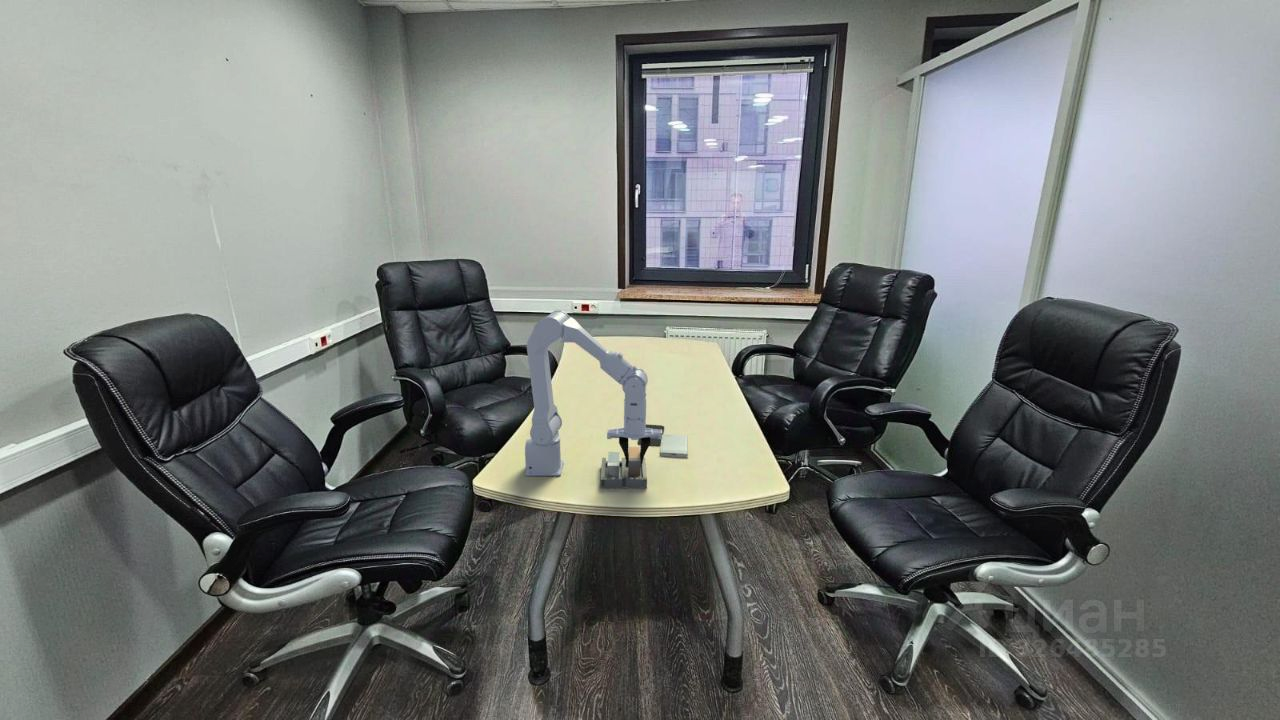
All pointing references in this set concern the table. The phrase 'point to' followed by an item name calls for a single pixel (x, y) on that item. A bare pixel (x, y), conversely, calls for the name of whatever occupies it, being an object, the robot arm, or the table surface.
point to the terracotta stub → (634, 461)
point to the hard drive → (674, 445)
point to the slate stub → (613, 465)
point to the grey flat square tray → (623, 476)
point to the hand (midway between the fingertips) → (634, 462)
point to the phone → (654, 440)
